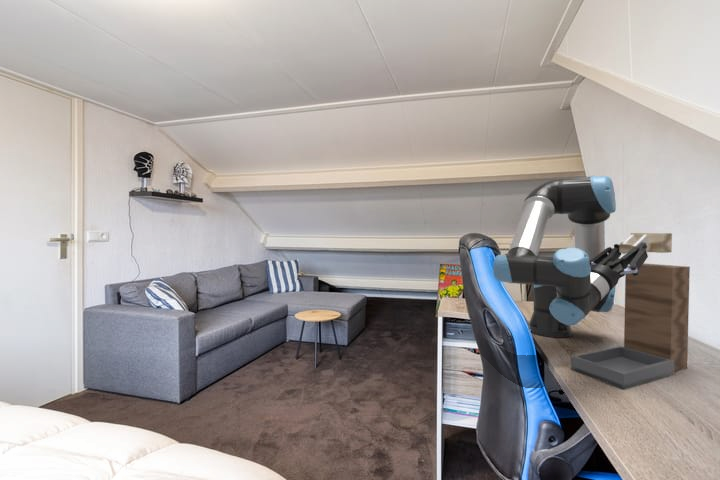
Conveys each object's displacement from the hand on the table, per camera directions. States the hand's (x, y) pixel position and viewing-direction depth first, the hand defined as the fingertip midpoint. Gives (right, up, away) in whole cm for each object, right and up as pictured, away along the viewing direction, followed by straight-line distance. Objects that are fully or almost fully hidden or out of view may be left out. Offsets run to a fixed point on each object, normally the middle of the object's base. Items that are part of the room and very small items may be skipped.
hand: (640, 238), depth 101 cm
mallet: (0, -4, 0) cm, 4 cm away
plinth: (+8, -38, +5) cm, 39 cm away
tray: (-7, -38, -2) cm, 39 cm away
